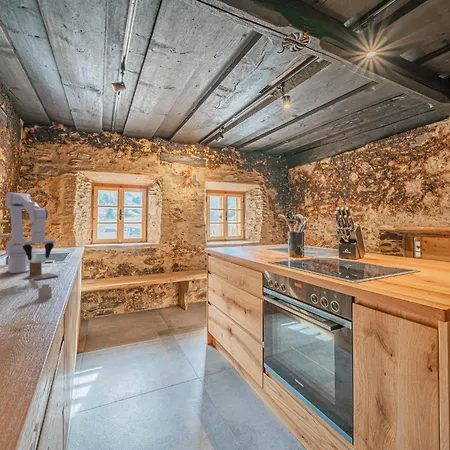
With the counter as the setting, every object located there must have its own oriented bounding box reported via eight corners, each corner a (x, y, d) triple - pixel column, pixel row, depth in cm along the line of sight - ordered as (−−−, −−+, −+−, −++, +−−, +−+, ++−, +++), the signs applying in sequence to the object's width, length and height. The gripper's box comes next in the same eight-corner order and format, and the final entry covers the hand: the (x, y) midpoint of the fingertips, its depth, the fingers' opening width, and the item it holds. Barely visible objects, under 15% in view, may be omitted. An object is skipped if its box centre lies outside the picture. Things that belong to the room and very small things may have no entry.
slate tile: (27, 277, 132) (27, 276, 132) (49, 274, 141) (49, 272, 141) (35, 280, 127) (35, 279, 127) (57, 277, 135) (57, 275, 135)
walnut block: (29, 275, 138) (29, 262, 138) (38, 274, 141) (38, 261, 141) (32, 276, 136) (32, 263, 135) (41, 275, 139) (41, 262, 139)
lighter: (51, 296, 104) (51, 276, 103) (51, 297, 102) (51, 277, 102) (29, 299, 100) (29, 278, 100) (28, 300, 98) (28, 279, 98)
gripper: (24, 233, 124) (24, 261, 124) (57, 231, 136) (58, 257, 136) (18, 232, 128) (19, 260, 128) (51, 231, 140) (51, 256, 140)
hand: (38, 258), depth 132 cm, fingers open, 7 cm apart
